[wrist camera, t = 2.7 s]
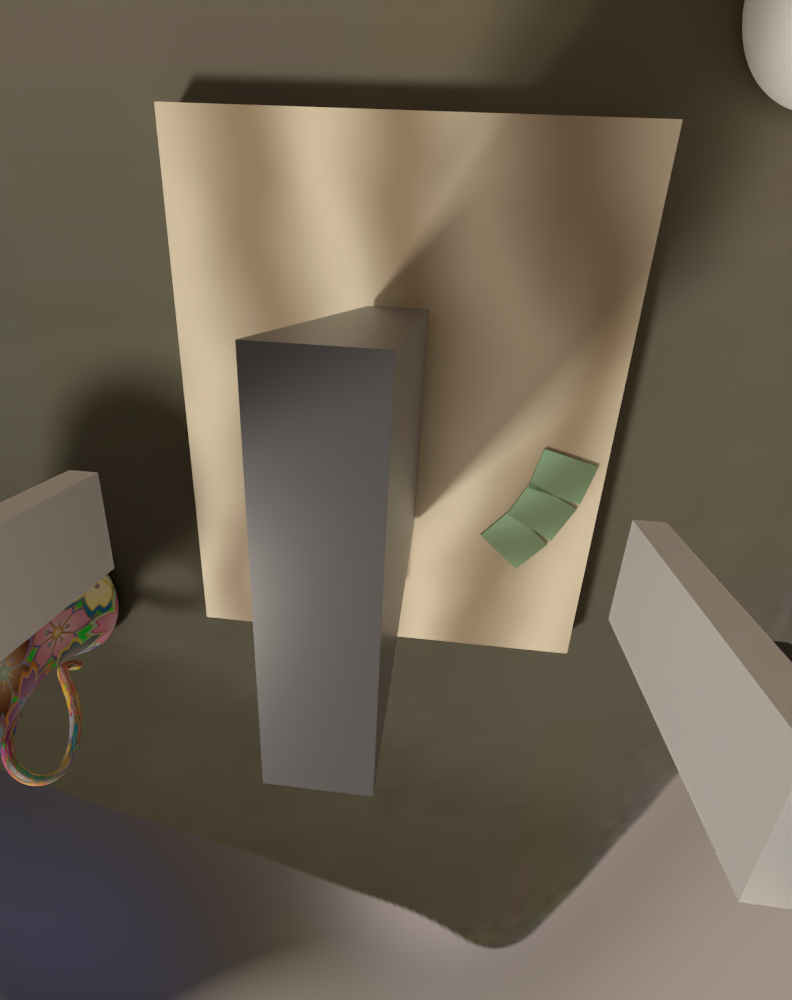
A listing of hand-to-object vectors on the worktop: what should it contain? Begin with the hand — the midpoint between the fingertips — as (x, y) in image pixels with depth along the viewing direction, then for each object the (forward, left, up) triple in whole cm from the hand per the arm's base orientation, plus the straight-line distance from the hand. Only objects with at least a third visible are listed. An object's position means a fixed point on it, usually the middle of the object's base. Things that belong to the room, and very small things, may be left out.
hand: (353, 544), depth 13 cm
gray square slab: (0, -2, -12) cm, 12 cm away
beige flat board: (0, 0, -14) cm, 14 cm away
